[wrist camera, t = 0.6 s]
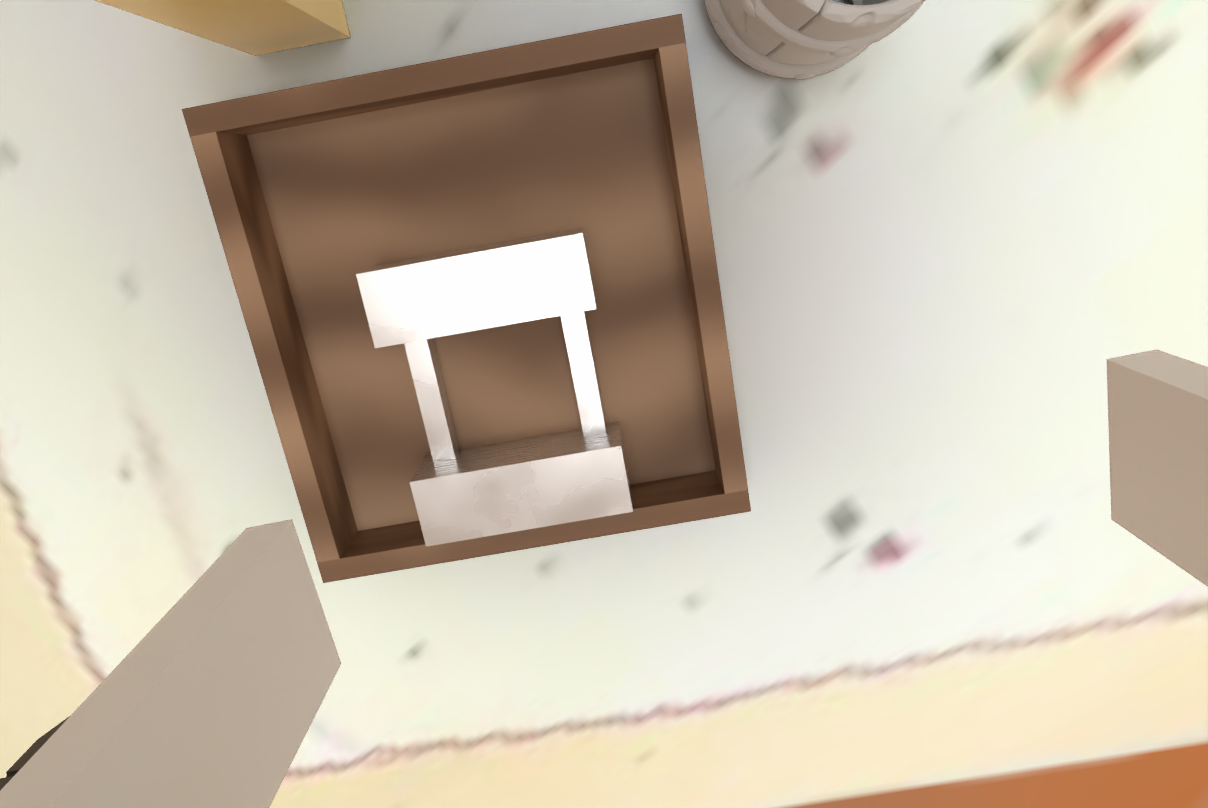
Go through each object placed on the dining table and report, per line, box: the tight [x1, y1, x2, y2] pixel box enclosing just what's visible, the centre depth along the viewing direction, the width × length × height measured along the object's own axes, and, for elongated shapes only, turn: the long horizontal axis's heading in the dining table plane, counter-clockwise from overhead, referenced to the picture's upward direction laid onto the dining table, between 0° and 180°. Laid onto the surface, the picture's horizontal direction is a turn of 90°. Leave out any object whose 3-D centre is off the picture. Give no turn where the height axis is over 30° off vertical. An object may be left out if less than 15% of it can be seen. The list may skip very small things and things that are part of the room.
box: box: [182, 14, 751, 583], centre depth 35 cm, size 20×19×4 cm
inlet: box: [356, 228, 633, 547], centre depth 35 cm, size 12×9×3 cm
